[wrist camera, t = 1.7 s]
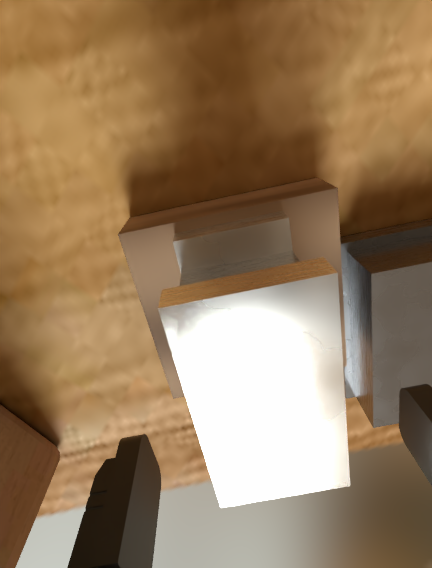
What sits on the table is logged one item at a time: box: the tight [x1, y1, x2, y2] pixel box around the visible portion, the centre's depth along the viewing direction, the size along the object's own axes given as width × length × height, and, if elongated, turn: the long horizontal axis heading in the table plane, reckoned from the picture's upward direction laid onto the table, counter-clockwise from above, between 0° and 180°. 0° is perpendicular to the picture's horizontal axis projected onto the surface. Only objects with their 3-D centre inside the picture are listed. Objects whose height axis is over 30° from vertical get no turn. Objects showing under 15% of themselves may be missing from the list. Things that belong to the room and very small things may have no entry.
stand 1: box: [118, 178, 347, 399], centre depth 19 cm, size 10×10×3 cm
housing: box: [158, 211, 350, 508], centre depth 15 cm, size 9×5×7 cm, turn 11°
